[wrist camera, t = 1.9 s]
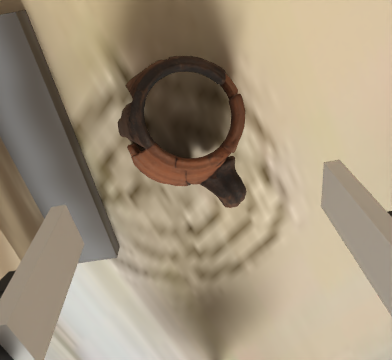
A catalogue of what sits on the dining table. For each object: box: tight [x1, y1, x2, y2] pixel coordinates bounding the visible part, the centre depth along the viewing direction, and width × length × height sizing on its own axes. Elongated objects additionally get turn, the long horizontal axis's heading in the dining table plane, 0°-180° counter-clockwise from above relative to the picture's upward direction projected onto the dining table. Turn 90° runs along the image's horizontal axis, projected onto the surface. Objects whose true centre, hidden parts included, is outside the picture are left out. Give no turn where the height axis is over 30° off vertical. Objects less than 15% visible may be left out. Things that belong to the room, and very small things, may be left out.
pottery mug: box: [118, 56, 246, 208], centre depth 24 cm, size 12×10×8 cm
